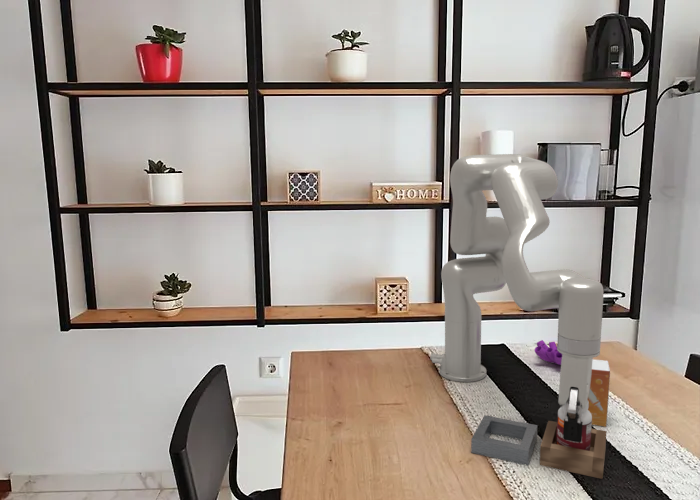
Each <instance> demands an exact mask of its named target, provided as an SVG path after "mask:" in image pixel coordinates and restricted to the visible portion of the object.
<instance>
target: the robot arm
mask: <svg viewBox="0 0 700 500" xmlns="http://www.w3.org/2000/svg"><path fill="white" fill-rule="evenodd" d="M450 170H451V171H450V176H449V178H450V179H449V182H450V188H451V194H452V210H451V211H452V213H451V223H450V225H451V226H450V236H449V237H450V241H449V243H450V247H451V249H452V251H453V253H455V254H457V255H460V256H472V257H462V258H455V259H452V260H449V261H447V262H446V263H445V264H444V265H443V266H442V268H441V272H440V275H441V277H440V278H441V283H442V285H441V286H442V289H443V295H444V296H443V297H444V353H442V354H438V353H434V352H433V353H432V352H431V353H430V360H431V363H432V364H439V365H440V366H439V368H438V373H439V374H440V376H441V377H443V378H445V379H447V380H449V381H454V382H461V383H469V382H470V383H471V382H477V381H480V380H483V379H484V378H485V377H486V376H487V368H486V367H485V366H484V365H482V364H481V363H482V361H481V359H482V355H481V354H482V351H481V350H482V310H481V306H480V305H479V302H477V301H476V299H475V298H474V295H475V294H482V293H491V292H497V291H499V290H502V289H504V287H505V286H506V285H507V286H506V287H507V288H508V291H509V294H510V295H511V298H512V300H513V301H514V303H515V304H516V306H517V307H519V308H520V309H522V310H523V311H527V312H535V311H543V310H551V309H558V320H557V321H558V322H557V323H558V325H557V340H556V341H557V344H556V347H557V350H558V351H559V352H560V353H562V361H561V365H560V374H559V375H560V376H559V390H558V402H557V403H558V404H559V406H563V405H565V403H566V412H565V419H564V429H563V439H565V440H569V441H574V442H579V443H580V442H581V440H582V423H583V422H581V415H582V409H584V408H585V407H586V403H587V399H588V395H589V390H590V383H591V375H592V361H593V359H594V358H597V357H599V356H600V355H601V342H602V327H603V326H602V325H603V323H602V322H603V306H604V291H605V290H604V287H603V284H602V283H601V282H600V281H598V280H596V279H592V278H586V277H584V276H582V275H581V274H579V273H578V272H576V271H574V270H572V269H564V268H563V269H556V270H541V271H532V272H530V271H529V269H528V266H527V262H526V260H525V257H524V246H525V244H526V243H529V242H530V241H531V240H534V239H536V238H537V237H539V236H540V235H541V234H544V233H545V231H546V230H547V229H548V227H549V226H550V222H551V221H550V217H549V215H548V214H547V211H546V208H545V206H544V204H543V202H542V200H548V199H550V198H552V197H553V196H554V195H555V194H556V192H557V191H558V190H557V189H558V183H559V182H558V181H559V180H558V175H557V174H556V171H555V170H554V168H553V167H552V166H551V165H550V164H549V163H548V162H546V161H543V160H540V159H536V158H532V157H530V156H526V155H523V154H519V153H518V154H516V153H505V154H504V153H503V154H499V153H498V154H491V153H490V154H472V155H466V156H463V157H459V158H458V159H457V160H456V161H454V163H453V164H452V167H451V169H450ZM483 191H493V195H494V197H495V199H496V202H497V204H498V208H499V211H500V213H501V214H502V217H501V216H487V213H488V200H487V197H486V196H485V194H484V192H483ZM474 255H475V256H474ZM476 255H484V256H476ZM577 402H578V403H580V406H577ZM576 409H579V411H578V413H576Z"/></svg>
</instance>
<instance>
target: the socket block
mask: <svg viewBox="0 0 700 500" xmlns="http://www.w3.org/2000/svg"><path fill="white" fill-rule="evenodd" d="M491 433H492V434H491ZM496 434H497V435H496ZM491 435H496V436H501V435H502V436H501V437H506V438H510V437H511V438H510V439H515V438H517V439H516V440H520V439H521V442H520V443H516V442H511V441H506V440H500V439H496V438H492V437H490V436H491ZM537 439H538V425H537V424H532V423H527V422H522V421H516V420H512V419H506V418H502V417H501V418H500V417H496V416H491V415H486V414H484V416H483V418H482V419H481V421H480V422H479V424H478V426H477V428H476V430H475V432H474V433H473V435H472V437H471V443H470V444H471V447H470V448H471V450H470V452H471V454H476V455H479V456H484V457H489V458H493V459H497V458H498V459H497V460H503V461H506V460H507V461H506V462H511V463H516V464H520V465H524V464H526V465H525V466H529V463H530V461H531V458H532V455H533V451H534V448H535V445H536V443H537Z"/></svg>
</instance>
